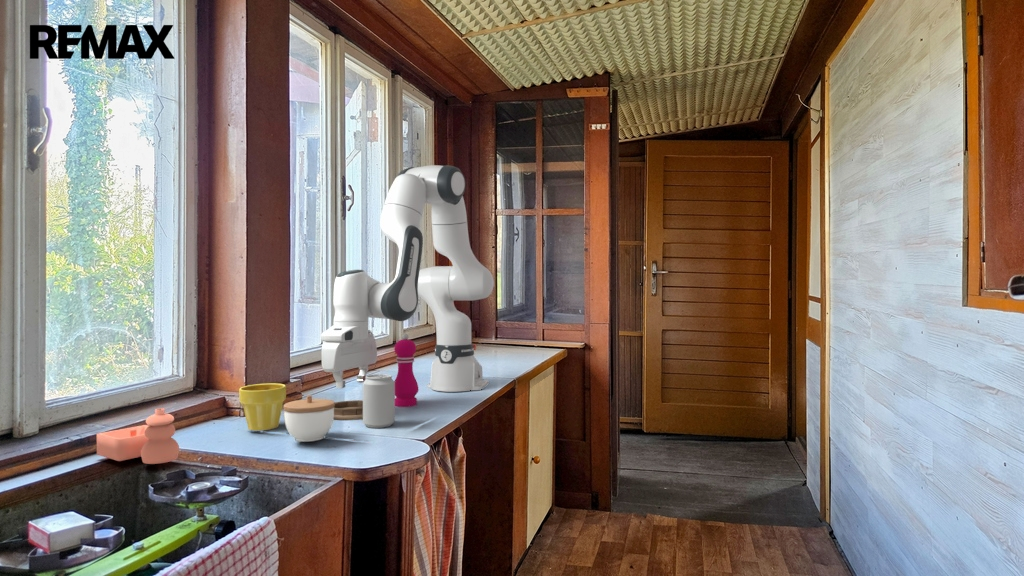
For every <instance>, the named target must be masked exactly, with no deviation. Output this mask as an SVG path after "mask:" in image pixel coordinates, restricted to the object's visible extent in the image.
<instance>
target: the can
mask: <svg viewBox="0 0 1024 576" xmlns="http://www.w3.org/2000/svg"><path fill="white" fill-rule="evenodd" d="M392 378H393V375H392V374H386V373H380V374H379V373H377V374H368V375H366V380H365V381H364V382H363V383H362V401H363V419H362V423H363V424H364V425H365V426H366V427H368V428H372V429H382V428H384V429H385V428H387V427H391V425H393V424H394V422H396V421H395V420H396V419H395V417H396V416H395V415H396V413H395V411H396V409H395V408H396V406H395V398H396V396H395V382H394V381H395V380H393V379H392Z"/></svg>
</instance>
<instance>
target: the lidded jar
mask: <svg viewBox="0 0 1024 576" xmlns="http://www.w3.org/2000/svg"><path fill="white" fill-rule="evenodd" d="M334 407H335V401H334V400H331V399H326V398H313V396H312V395H306V399H299V400H293V401H289V402H285V403H283V405H282V409H283V415H284V416H283V417H284V418H283V419H284V424H285V428H286V430H287V432H288V433H289V435H291V437H293V438H294V440H295V442H296V441H297V442H302V443H303V442H304V443H305V442H315V441H316V442H317V441H320V440H323V439H324V438H325V437H326V435H327V434H328V433H329V432H330V430H331V429H332V426H333V423H334V420H333V419H334Z"/></svg>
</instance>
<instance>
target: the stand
mask: <svg viewBox="0 0 1024 576" xmlns="http://www.w3.org/2000/svg"><path fill="white" fill-rule="evenodd" d="M334 402H335V401H334ZM334 420H335V421H353V420H354V421H355V420H363V399H362V400H355V399H354V400H343V401H342V400H341V401H336V402H335V407H334V419H333V421H334Z"/></svg>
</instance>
